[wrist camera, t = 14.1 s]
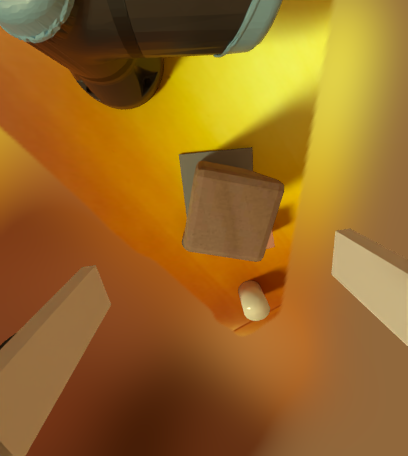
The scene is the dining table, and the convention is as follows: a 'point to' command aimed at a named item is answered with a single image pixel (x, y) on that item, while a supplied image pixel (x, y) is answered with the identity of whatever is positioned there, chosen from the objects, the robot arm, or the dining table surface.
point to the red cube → (270, 241)
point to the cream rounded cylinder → (253, 301)
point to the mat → (225, 157)
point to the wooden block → (231, 211)
